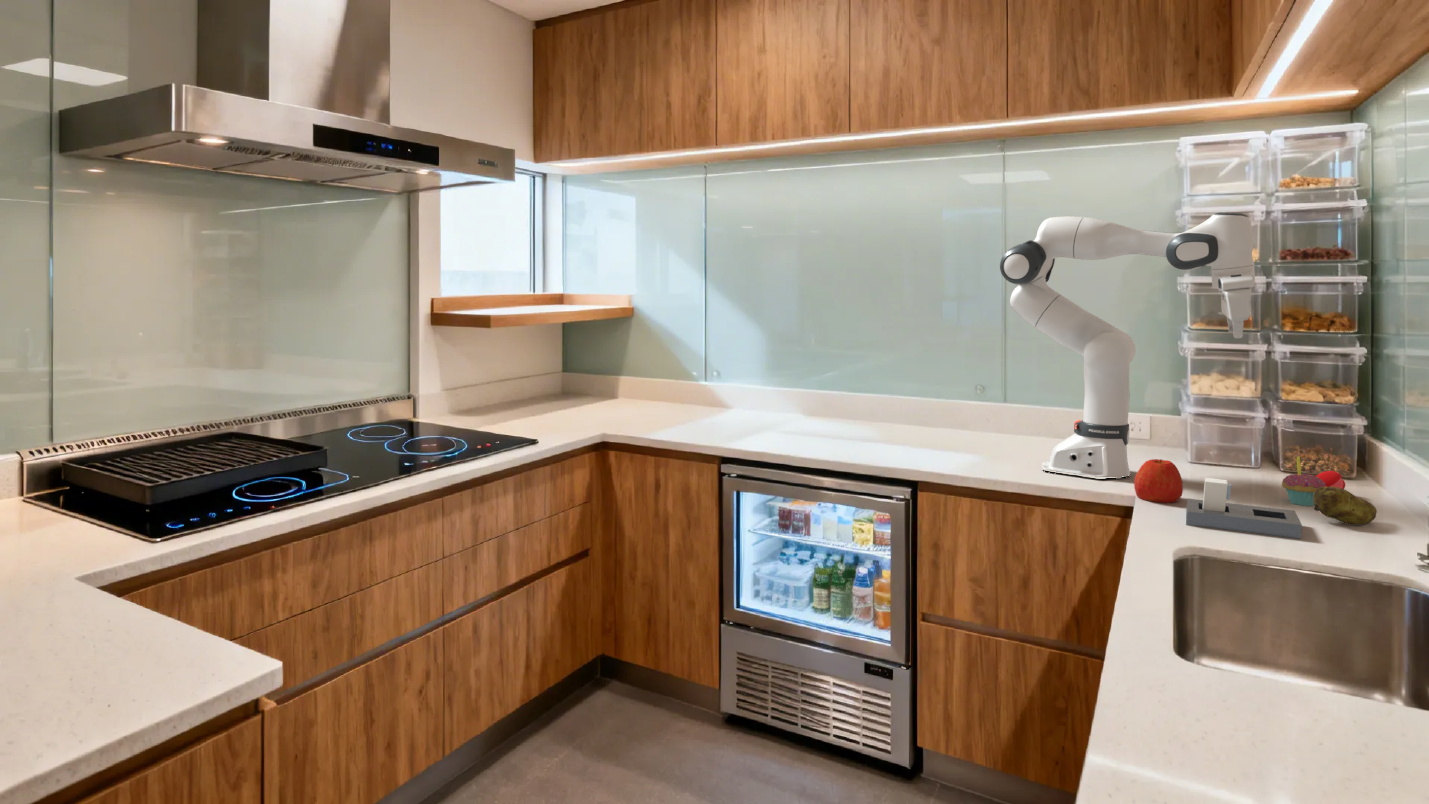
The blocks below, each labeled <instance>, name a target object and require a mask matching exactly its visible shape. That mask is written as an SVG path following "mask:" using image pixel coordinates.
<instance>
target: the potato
mask: <svg viewBox="0 0 1429 804" xmlns="http://www.w3.org/2000/svg"><path fill="white" fill-rule="evenodd" d="M1313 503H1314V505H1313V506H1314V508H1313V510H1314V511H1316V512H1319V513H1321V514H1322V515H1323V516H1325V517H1327V518H1331V519H1334V520H1336V521H1338V522H1340V523H1342V524H1346V525H1350V524H1351V525H1353V526H1362V524H1363V525H1366V524H1369V523H1370V524H1371V522H1373V521H1374V520H1375V519H1376V517H1377V516H1376V515H1377V513H1378V510H1377V508H1376V506H1375V505H1374V504H1373V503H1371V502H1370V501H1367V500H1364V499H1362V498H1360V497H1357V496H1355V495H1354V494H1353V493H1351V492H1350V491H1349V490H1346V489H1345V488H1344V489H1342V488H1338V487H1330V486H1328V487H1323V488H1320V489H1317V490H1316V491H1315V493H1314V494H1313Z"/></svg>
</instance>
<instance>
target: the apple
mask: <svg viewBox="0 0 1429 804" xmlns="http://www.w3.org/2000/svg"><path fill="white" fill-rule="evenodd" d="M1183 483H1184V482H1183V480H1182V476H1181V473H1180V471H1179V469H1178V467H1177V466H1176V465H1175V463H1174V462H1172V461H1170V460H1168V459H1167V460H1165V459H1157V458H1155V459H1154V458H1153V459H1148V460H1146V461H1144V463H1143V464H1142V465H1141V466H1140V468H1139V469H1138V470H1137V473H1135V476H1134V491H1135V495H1136V496H1137V498H1138V499H1141V500H1143V501H1144V500H1145V501H1147V502H1151V503H1161V504H1162V503H1164V504H1172V503H1176V502H1177V501H1178V500H1179V499H1181V497H1182V495H1183V492H1184V491H1183Z"/></svg>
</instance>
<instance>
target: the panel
mask: <svg viewBox="0 0 1429 804" xmlns="http://www.w3.org/2000/svg"><path fill="white" fill-rule="evenodd" d="M1185 506H1186V507H1185V525H1186V526H1191V527H1198V528H1207V529H1213V530H1214V529H1215V530H1222V531H1231V532H1237V533H1247V534H1253V535H1261V536H1267V537H1268V536H1270V537H1277V538H1286V539H1293V540H1299V541H1300V540H1301V538H1302V536H1301V535H1302V528H1303V527H1302V526H1303V524H1302V522H1301V520H1300V518H1299V516H1298V514H1297V511H1296V510H1293V509H1292V510H1291V509H1285V508H1284V509H1283V508H1275V507H1274V508H1273V507H1267V506H1258V505H1257V506H1255V505H1250V504H1249V505H1248V504H1240V503H1232V502H1231V503H1230V502H1226V506H1225V512H1219V511H1211V510H1203V509H1202V507H1203V499H1195V498H1186V505H1185Z"/></svg>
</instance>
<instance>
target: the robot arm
mask: <svg viewBox="0 0 1429 804" xmlns="http://www.w3.org/2000/svg"><path fill="white" fill-rule="evenodd" d="M1253 232H1254V231H1253V226H1252V222H1251V219H1250V217H1249V216H1248V215H1247V214H1245V213H1242V212H1232V211H1231V212H1229V211H1228V212H1227V211H1226V212H1216V213H1213V214H1212V215H1211V216H1209V218H1208V219H1206V220H1205V221H1203V222H1201V223H1199V224H1198V225H1196V226H1194V227H1192V228H1190V229H1187V230H1185V231H1182V232H1165V231H1152V230H1145V229H1144V230H1142V229H1136V228H1131V227H1130V226H1124V225H1121V224H1118V223H1116V222H1113V221H1108V220H1104V219H1100V218H1095V217H1088V216H1076V215H1075V216H1073V215H1070V216H1069V215H1068V216H1067V215H1065V216H1064V215H1063V216H1053V217H1052V216H1051V217H1048V218H1046V219H1044V220H1043V221H1042V222H1041V224H1040V225H1039V227H1038V228H1037V232H1036V236H1035V238H1034V240H1026V241H1025V242H1022V243H1019V244H1017V245H1015V246H1013V247H1010V248H1009V249H1008V250H1006V251H1005V253H1004V254H1003V255H1002V257H1001V259H1000V262H999V270H1000V274H1001V275H1002V277H1003V278H1004V279H1005V280H1006V281H1008V282H1009V283H1011V284H1014V285H1015V286H1014V289H1013V291H1012V292H1011V295H1010V298H1009V305H1010V306H1011V308H1012V309H1013V310H1014V311H1015V312H1016V313H1017V314H1018V315H1019V316H1020V317H1021V318H1022V319H1023V320H1025V321H1026V322H1027V323H1029V325H1031V326H1032V327H1034V328H1035V329H1037V330H1038V331H1040V332H1041V333H1043V334H1044V335H1046V336H1047V337H1049V338H1050V339H1052V340H1053V341H1055V342H1056V343H1058V344H1059V345H1061V346H1064V347H1065V348H1068V350H1069V349H1070V350H1072V351H1073V352H1075V353H1077V354H1079V355H1080V356H1082V357H1083V385H1084V387H1083V388H1084V398H1083V399H1084V401H1083V415H1082V420H1081V419H1076V420H1075V421H1074V422H1073V425H1074V426H1073V428H1074V429H1073V433H1072V434H1071V435H1070V436H1067V438H1064V439H1063V440H1062V441H1060V442H1059V443H1057V444H1056V445H1055V446H1054V447H1053V449H1051V450H1052V451H1051V453H1050V457H1049V459H1048V460H1045V461H1043V462H1042V463H1041V467H1042V468H1043V469H1046V470H1050V471H1056V472H1067V473H1073V474H1079V475H1091V476H1095V477H1122V476H1128V475H1130V474H1131V471H1130V466H1129V460H1128V458H1129V457H1128V444H1129V439H1130V423H1129V412H1130V411H1129V410H1130V363H1131V362H1132V361H1133V360H1134V358H1135V355H1136V344H1135V341H1134V340H1133V339H1132V337H1131V336H1130V335H1129V334H1128V333H1126V332H1124V331H1123V330H1121V329H1119V328H1118V327H1115V326H1114V325H1112V324H1111V323H1109V322H1107V321H1105V320H1104V319H1102V318H1100V317H1098V316H1096V315H1095V314H1093V313H1091V312H1089V311H1088V310H1086V309H1084V308H1082V307H1081V306H1080V305H1078V304H1076V303H1075V302H1073V301H1071V300H1070V299H1069V298H1067V297H1065V296H1063V295H1062V294H1060V293H1059V292H1057V291H1055V290H1054V289H1053V288H1051V287H1050V286H1049V284H1047V283H1048V282H1049V280H1050V277H1051V274H1052V271H1053V268H1054V266H1055V263H1056V262H1055V261H1056V259H1057V258H1068V259H1076V260H1083V261H1084V260H1087V261H1088V260H1089V261H1094V260H1095V261H1096V260H1106V259H1110V258H1115V257H1116V258H1117V257H1119V256H1126V255H1143V256H1152V257H1161V258H1166V259H1167V261H1168V263H1169V264H1170V265H1171V266H1172V267H1173V268H1174V269H1178V270H1180V271H1193V270H1196V269H1200V268H1204V267H1206V266H1209V267H1210V273H1211V289H1217V290H1218V293H1217V294H1218V295H1220V303H1221V304H1220V305H1221V307H1220V308H1221V313H1222V314H1223V315H1224V316H1225V317H1226V322H1227V326H1228V333H1229V334H1233V335H1232V336H1233V338H1234V339H1242V338H1243V337H1244V332H1243V331H1244V323H1245V322H1244V321H1248V320H1249V318H1250V315H1251V314H1250V312H1251V298H1252V289H1251V288H1253V287H1255V284H1256V272H1255V270H1256V269H1255V261H1254V258H1253V251H1254V250H1253V249H1254V235H1253ZM1041 467H1040V468H1041ZM1130 476H1131V475H1130Z"/></svg>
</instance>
